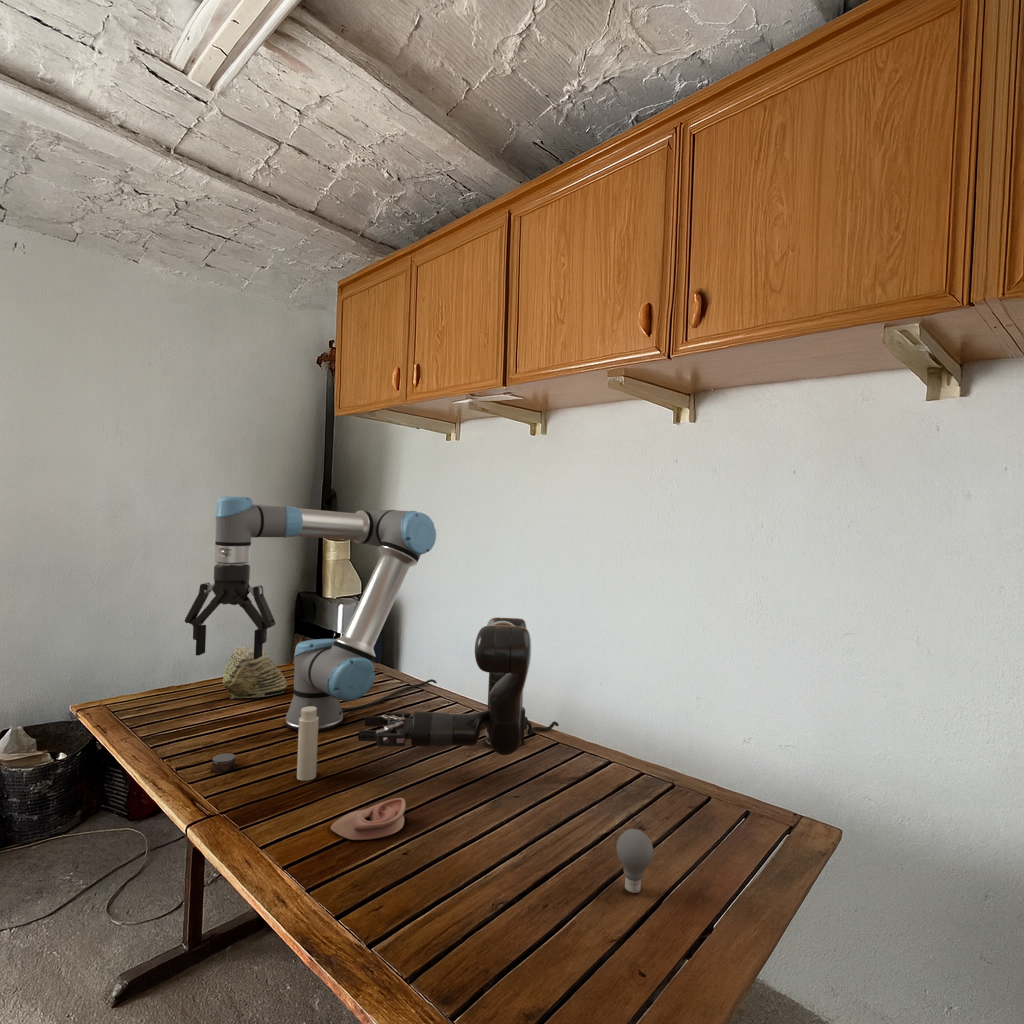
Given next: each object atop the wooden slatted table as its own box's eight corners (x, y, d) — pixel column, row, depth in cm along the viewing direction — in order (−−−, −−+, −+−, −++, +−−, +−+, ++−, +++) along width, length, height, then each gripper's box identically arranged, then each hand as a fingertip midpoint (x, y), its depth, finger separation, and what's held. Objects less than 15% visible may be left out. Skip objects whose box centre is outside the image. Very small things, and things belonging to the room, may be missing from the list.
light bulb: (610, 879, 108) (613, 822, 108) (644, 879, 109) (647, 822, 109) (619, 902, 102) (622, 840, 102) (655, 901, 103) (658, 840, 103)
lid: (235, 770, 145) (235, 759, 144) (212, 773, 142) (212, 762, 142) (234, 762, 149) (234, 752, 149) (211, 765, 147) (212, 754, 147)
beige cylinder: (292, 776, 142) (295, 708, 142) (308, 770, 146) (311, 704, 146) (304, 782, 140) (306, 713, 140) (320, 776, 143) (323, 708, 143)
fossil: (218, 695, 195) (220, 647, 195) (278, 685, 208) (279, 640, 207) (228, 703, 189) (230, 653, 188) (289, 692, 201) (290, 645, 201)
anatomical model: (323, 814, 118) (350, 787, 130) (322, 835, 118) (350, 806, 130) (389, 824, 116) (412, 796, 127) (389, 846, 116) (411, 816, 127)
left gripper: (170, 562, 142) (166, 656, 142) (278, 568, 141) (275, 663, 141) (189, 559, 149) (185, 648, 150) (292, 564, 148) (288, 654, 148)
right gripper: (435, 702, 152) (367, 701, 151) (432, 724, 138) (356, 723, 137) (434, 733, 152) (365, 732, 151) (430, 758, 138) (355, 757, 137)
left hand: (229, 655), depth 145 cm, fingers open, 13 cm apart
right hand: (361, 728), depth 144 cm, fingers open, 8 cm apart
